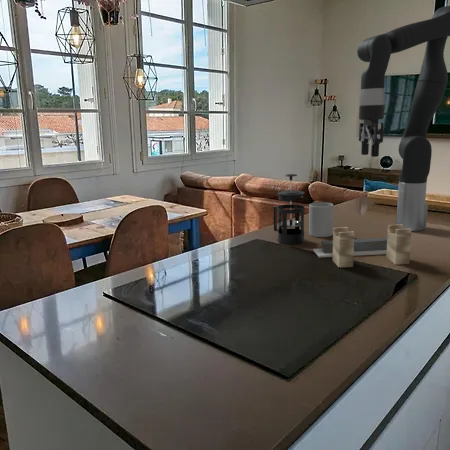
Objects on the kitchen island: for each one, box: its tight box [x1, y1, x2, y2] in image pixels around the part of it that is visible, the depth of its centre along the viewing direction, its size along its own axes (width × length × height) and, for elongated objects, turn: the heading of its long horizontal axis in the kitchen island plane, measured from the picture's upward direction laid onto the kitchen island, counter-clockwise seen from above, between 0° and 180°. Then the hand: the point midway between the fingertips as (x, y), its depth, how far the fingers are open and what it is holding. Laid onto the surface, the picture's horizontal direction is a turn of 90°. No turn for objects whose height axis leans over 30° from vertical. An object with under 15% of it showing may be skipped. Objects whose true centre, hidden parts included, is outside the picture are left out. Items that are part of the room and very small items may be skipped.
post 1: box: [332, 226, 355, 268], centre depth 120 cm, size 4×6×10 cm, turn 3°
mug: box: [308, 201, 335, 238], centre depth 153 cm, size 12×8×11 cm
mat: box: [312, 248, 387, 258], centre depth 131 cm, size 26×7×1 cm, turn 93°
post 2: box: [385, 223, 412, 265], centre depth 120 cm, size 4×6×10 cm, turn 3°
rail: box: [320, 237, 387, 253], centre depth 131 cm, size 22×3×3 cm, turn 93°
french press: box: [273, 173, 306, 246], centre depth 143 cm, size 12×9×23 cm
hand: (369, 155), depth 138 cm, fingers open, 8 cm apart
